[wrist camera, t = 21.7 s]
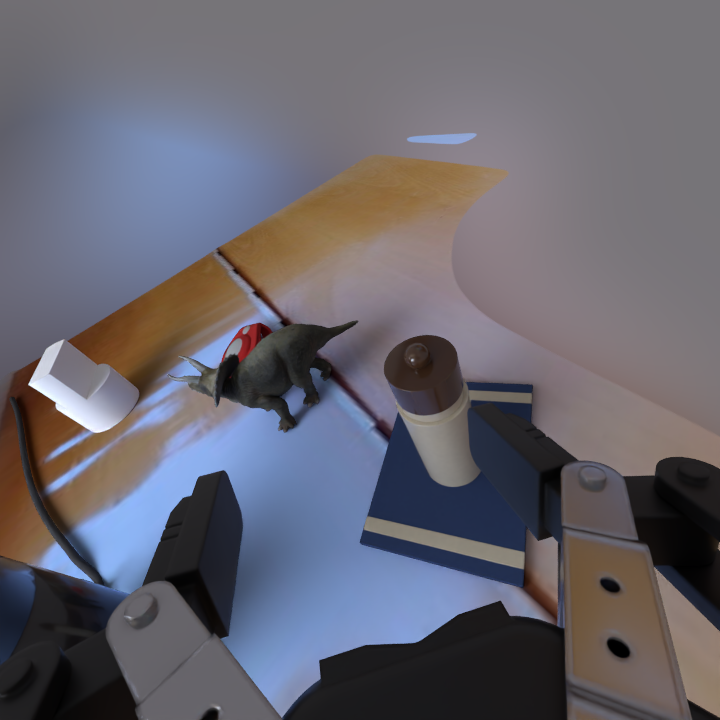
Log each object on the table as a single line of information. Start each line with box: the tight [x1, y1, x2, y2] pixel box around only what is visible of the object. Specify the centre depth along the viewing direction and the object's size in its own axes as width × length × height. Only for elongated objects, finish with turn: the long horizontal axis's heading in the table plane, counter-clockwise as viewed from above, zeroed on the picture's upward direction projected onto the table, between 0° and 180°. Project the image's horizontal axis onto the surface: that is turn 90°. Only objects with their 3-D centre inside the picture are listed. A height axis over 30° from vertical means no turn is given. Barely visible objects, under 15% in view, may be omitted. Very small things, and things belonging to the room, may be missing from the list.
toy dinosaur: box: [167, 321, 358, 432], centre depth 43 cm, size 22×8×11 cm, turn 114°
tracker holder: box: [221, 323, 273, 378], centre depth 55 cm, size 12×4×10 cm
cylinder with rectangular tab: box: [29, 339, 139, 433], centre depth 56 cm, size 9×9×12 cm
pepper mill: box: [384, 335, 481, 487], centre depth 29 cm, size 5×5×15 cm
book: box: [360, 382, 533, 588], centre depth 34 cm, size 13×18×1 cm
